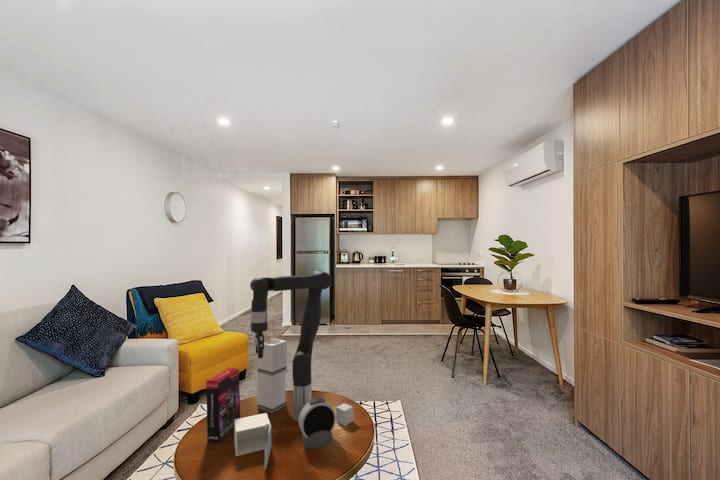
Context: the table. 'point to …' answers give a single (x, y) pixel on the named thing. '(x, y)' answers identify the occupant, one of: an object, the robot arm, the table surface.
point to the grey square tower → (272, 376)
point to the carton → (250, 433)
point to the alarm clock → (317, 423)
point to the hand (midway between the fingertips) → (259, 355)
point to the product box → (344, 414)
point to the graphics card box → (222, 404)
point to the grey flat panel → (267, 443)
